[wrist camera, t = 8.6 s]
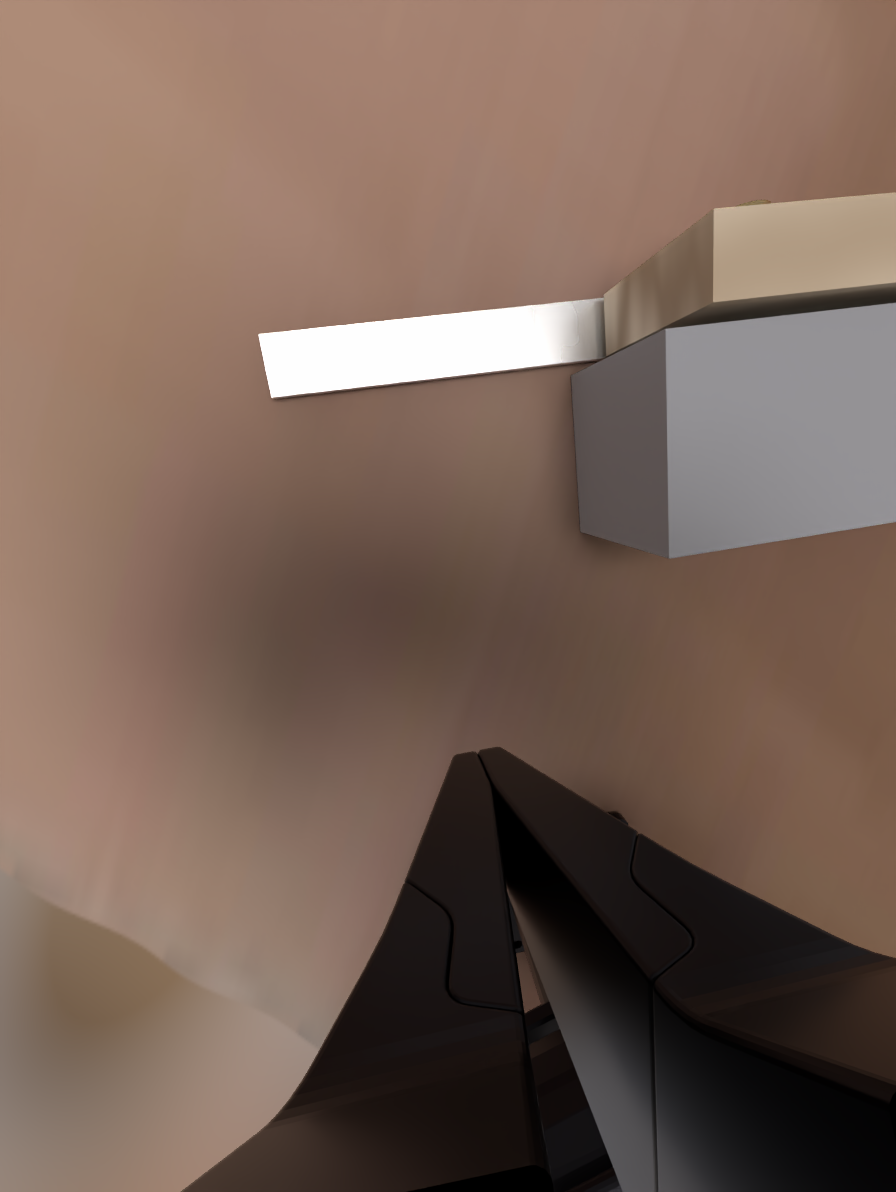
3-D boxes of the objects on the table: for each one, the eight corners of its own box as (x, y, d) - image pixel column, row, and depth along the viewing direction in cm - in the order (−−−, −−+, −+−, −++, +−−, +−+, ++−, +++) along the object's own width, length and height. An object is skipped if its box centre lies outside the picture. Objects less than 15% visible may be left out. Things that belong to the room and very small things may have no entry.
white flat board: (1051, 307, 21) (1344, 236, 15) (274, 399, 18) (217, 359, 11) (1060, 253, 20) (1367, 155, 14) (261, 338, 17) (194, 261, 11)
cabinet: (1004, 466, 22) (1245, 465, 16) (580, 531, 21) (669, 558, 14) (1027, 316, 21) (1305, 250, 15) (570, 371, 19) (665, 322, 13)
